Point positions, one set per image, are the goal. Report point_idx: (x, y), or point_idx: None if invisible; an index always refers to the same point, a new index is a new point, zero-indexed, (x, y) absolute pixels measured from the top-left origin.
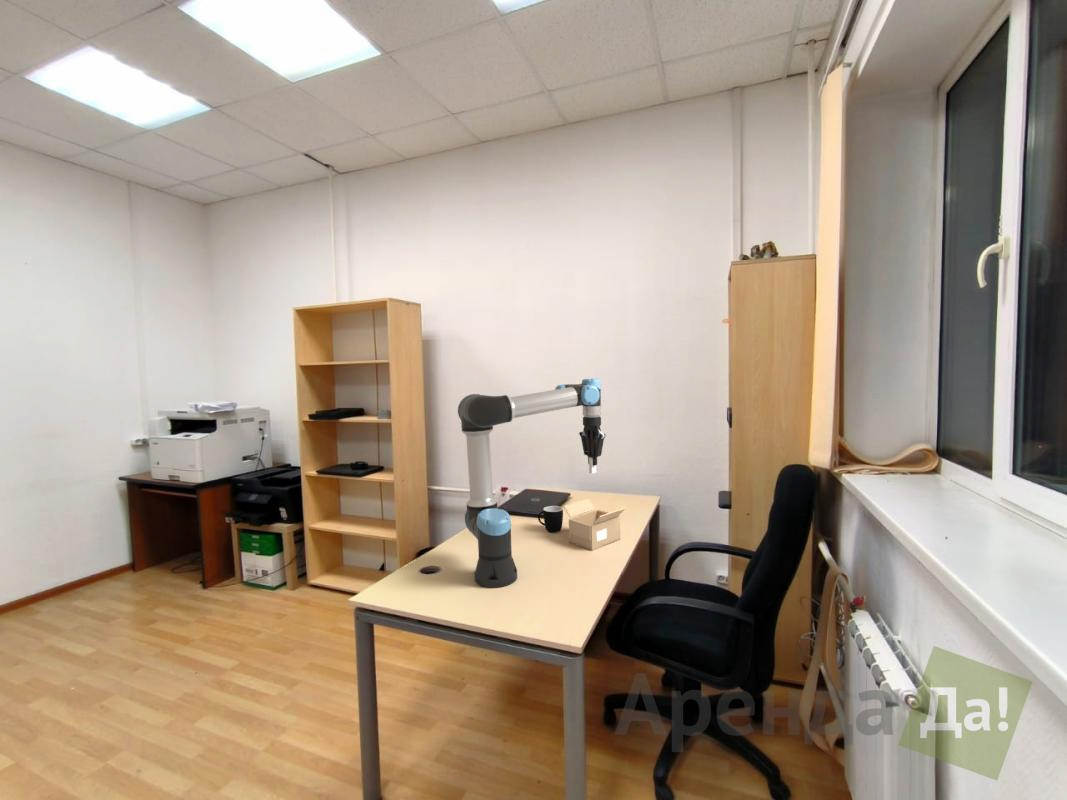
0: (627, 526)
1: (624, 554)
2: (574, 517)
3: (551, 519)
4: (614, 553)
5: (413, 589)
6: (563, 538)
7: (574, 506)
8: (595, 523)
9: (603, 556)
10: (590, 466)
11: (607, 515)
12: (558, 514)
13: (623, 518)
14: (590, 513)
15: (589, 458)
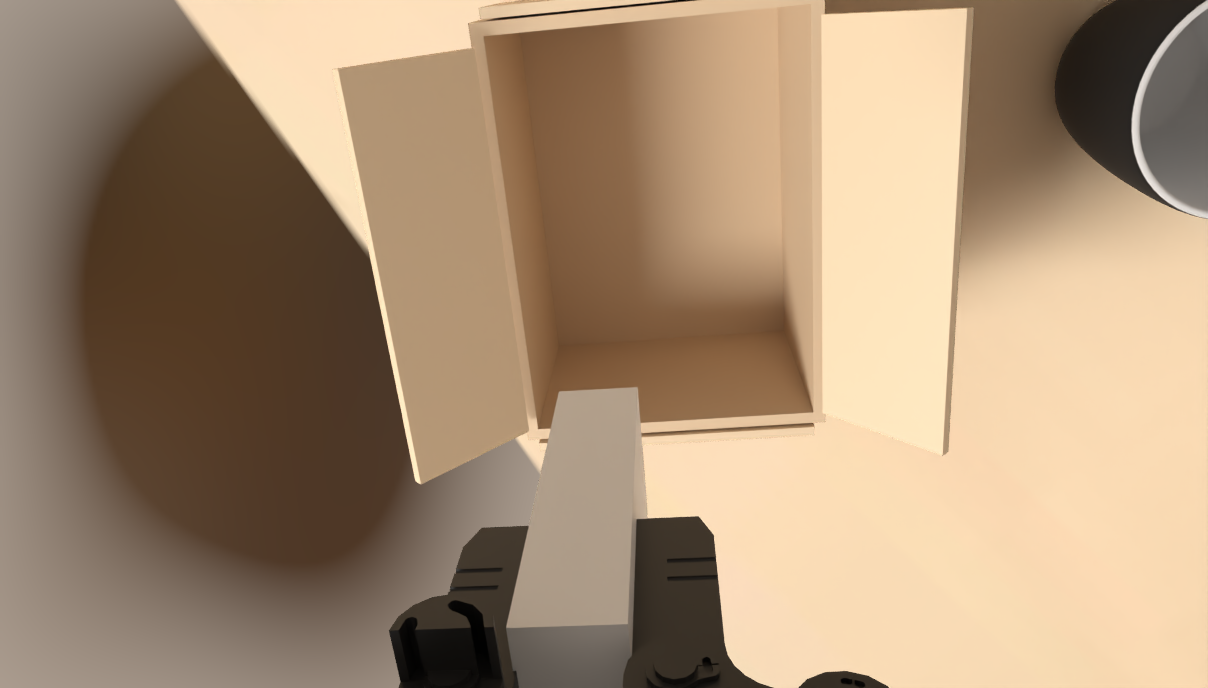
0: (718, 574)
1: (307, 162)
2: (821, 82)
3: (1148, 5)
4: None
5: None
6: (902, 9)
7: (915, 170)
8: (464, 82)
9: (364, 2)
10: (588, 467)
11: (389, 216)
12: (1116, 85)
13: (861, 670)
14: (811, 319)
15: (609, 603)
